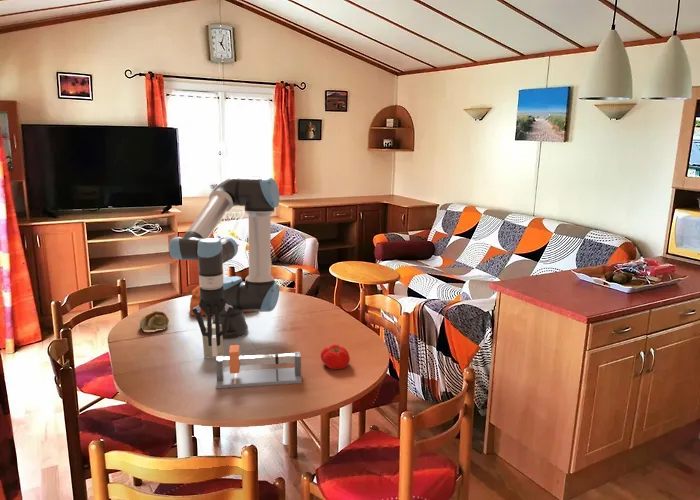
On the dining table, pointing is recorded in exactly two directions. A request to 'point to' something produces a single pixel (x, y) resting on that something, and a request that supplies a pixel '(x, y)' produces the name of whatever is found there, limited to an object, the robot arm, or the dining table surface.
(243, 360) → the rail
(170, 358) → the dining table surface
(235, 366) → the collar
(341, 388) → the dining table surface
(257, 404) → the dining table surface
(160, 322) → the pastry
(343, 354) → the tomato
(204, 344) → the skincare box
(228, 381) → the board
